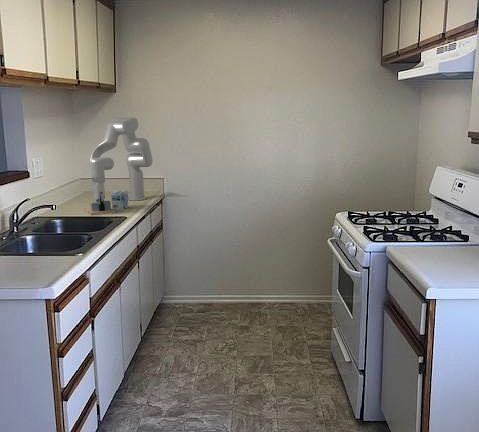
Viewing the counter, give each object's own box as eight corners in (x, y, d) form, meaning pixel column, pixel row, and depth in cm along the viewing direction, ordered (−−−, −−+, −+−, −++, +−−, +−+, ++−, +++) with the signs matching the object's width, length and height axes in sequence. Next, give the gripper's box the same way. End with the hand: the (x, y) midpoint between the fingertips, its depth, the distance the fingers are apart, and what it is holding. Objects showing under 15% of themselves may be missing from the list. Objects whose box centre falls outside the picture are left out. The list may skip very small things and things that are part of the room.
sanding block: (90, 210, 333) (90, 202, 332) (109, 208, 337) (108, 200, 336) (92, 211, 327) (91, 203, 326) (111, 210, 331) (110, 201, 330)
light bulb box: (122, 210, 340) (120, 192, 338) (111, 210, 341) (110, 192, 339) (128, 207, 350) (127, 190, 348) (118, 207, 351) (117, 190, 349)
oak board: (83, 209, 344) (82, 207, 344) (105, 207, 350) (105, 205, 350) (91, 215, 325) (90, 212, 324) (114, 212, 331) (114, 210, 331)
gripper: (88, 179, 334) (91, 208, 338) (95, 182, 319) (97, 212, 322) (101, 178, 338) (103, 207, 341) (108, 180, 322) (110, 211, 326)
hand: (100, 209), depth 332 cm, fingers closed on sanding block, 6 cm apart
